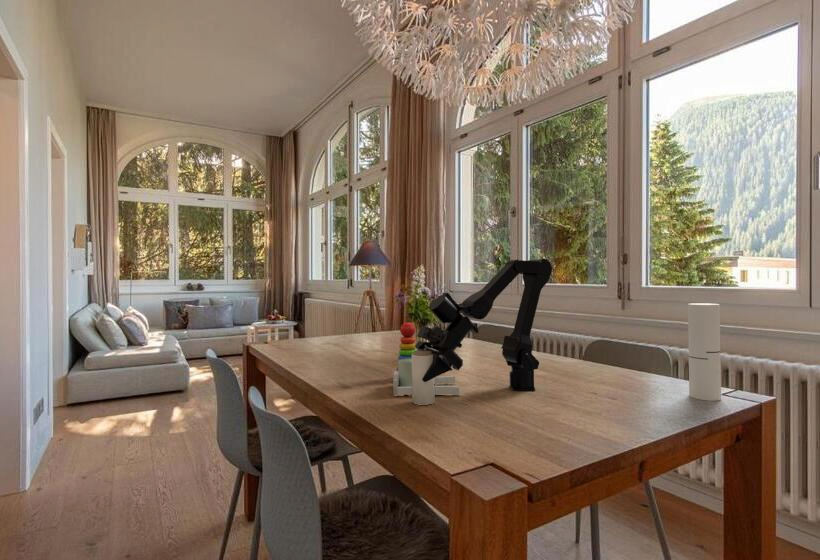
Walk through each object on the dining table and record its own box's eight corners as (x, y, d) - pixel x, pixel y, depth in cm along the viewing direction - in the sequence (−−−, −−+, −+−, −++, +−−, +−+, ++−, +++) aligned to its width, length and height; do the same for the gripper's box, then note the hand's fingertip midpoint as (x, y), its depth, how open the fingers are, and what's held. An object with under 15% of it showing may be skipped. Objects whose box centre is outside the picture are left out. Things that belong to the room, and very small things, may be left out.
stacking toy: (420, 381, 144) (418, 323, 144) (395, 381, 144) (394, 324, 144) (420, 376, 152) (419, 321, 152) (396, 376, 152) (395, 321, 152)
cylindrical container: (726, 401, 116) (724, 304, 115) (695, 400, 117) (694, 305, 117) (713, 394, 123) (712, 303, 122) (684, 393, 124) (683, 303, 124)
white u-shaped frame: (455, 383, 141) (454, 369, 141) (460, 396, 125) (460, 380, 125) (394, 384, 140) (394, 370, 140) (393, 397, 125) (393, 381, 125)
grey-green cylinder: (419, 388, 136) (419, 358, 135) (417, 393, 130) (417, 362, 130) (400, 387, 136) (399, 358, 136) (397, 393, 130) (396, 362, 130)
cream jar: (435, 399, 122) (434, 349, 122) (433, 406, 116) (432, 353, 116) (413, 399, 123) (412, 349, 123) (411, 405, 117) (410, 353, 117)
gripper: (420, 312, 130) (385, 353, 125) (451, 317, 113) (412, 365, 108) (445, 337, 133) (411, 378, 129) (478, 346, 116) (441, 393, 111)
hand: (418, 378), depth 119 cm, fingers closed on cream jar, 6 cm apart
